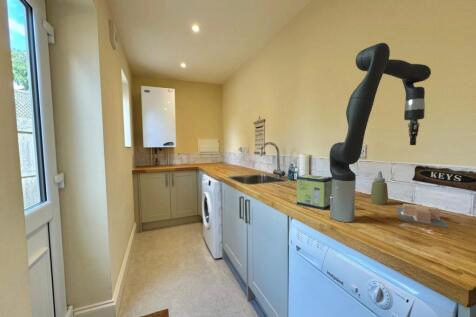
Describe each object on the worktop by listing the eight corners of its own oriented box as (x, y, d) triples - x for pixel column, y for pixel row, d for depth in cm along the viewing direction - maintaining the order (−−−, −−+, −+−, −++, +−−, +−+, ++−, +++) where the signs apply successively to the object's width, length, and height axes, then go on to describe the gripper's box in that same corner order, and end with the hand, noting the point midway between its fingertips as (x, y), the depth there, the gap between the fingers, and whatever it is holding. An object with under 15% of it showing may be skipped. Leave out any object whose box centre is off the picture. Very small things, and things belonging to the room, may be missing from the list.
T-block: (405, 218, 89) (405, 209, 89) (402, 212, 98) (403, 203, 98) (444, 224, 82) (444, 214, 82) (437, 216, 91) (437, 207, 91)
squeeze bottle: (373, 205, 110) (374, 172, 109) (367, 201, 118) (368, 170, 117) (390, 206, 108) (392, 172, 107) (384, 202, 116) (385, 170, 115)
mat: (400, 221, 88) (400, 219, 88) (396, 207, 106) (396, 206, 106) (449, 228, 79) (449, 227, 79) (436, 212, 98) (436, 211, 98)
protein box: (305, 200, 121) (305, 174, 121) (332, 206, 110) (332, 177, 110) (295, 204, 114) (296, 176, 113) (324, 210, 103) (324, 179, 102)
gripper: (403, 112, 109) (402, 145, 110) (405, 108, 98) (404, 145, 99) (422, 110, 105) (420, 145, 106) (427, 106, 94) (425, 145, 95)
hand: (412, 145), depth 102 cm, fingers closed
